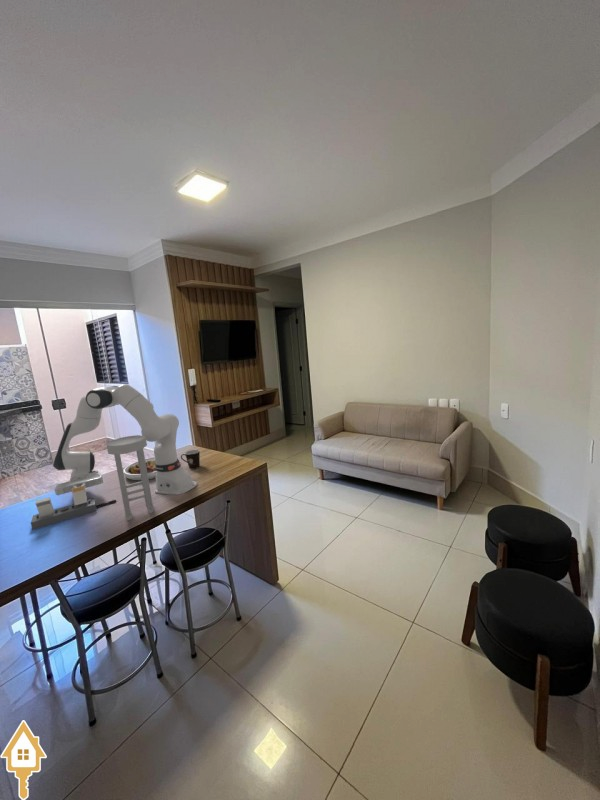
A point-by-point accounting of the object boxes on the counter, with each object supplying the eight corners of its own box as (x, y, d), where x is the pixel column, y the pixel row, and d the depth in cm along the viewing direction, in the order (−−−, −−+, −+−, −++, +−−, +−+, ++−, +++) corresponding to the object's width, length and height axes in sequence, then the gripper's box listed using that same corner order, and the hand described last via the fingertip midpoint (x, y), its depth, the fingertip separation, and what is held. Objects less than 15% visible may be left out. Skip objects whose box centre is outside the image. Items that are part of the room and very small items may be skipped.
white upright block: (87, 501, 153) (84, 485, 154) (87, 501, 151) (84, 485, 152) (75, 505, 150) (72, 488, 151) (74, 505, 148) (71, 488, 149)
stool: (159, 512, 145) (147, 439, 139) (121, 524, 137) (106, 448, 131) (154, 499, 158) (143, 433, 152) (119, 510, 150) (106, 440, 144)
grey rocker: (53, 509, 146) (49, 497, 142) (53, 513, 144) (49, 500, 141) (40, 513, 143) (35, 500, 139) (40, 516, 141) (35, 503, 138)
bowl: (129, 468, 206) (127, 457, 204) (178, 460, 215) (176, 449, 214) (120, 486, 178) (117, 473, 176) (176, 476, 187) (174, 463, 186)
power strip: (115, 498, 162) (113, 490, 162) (116, 504, 156) (115, 496, 155) (34, 522, 145) (32, 512, 144) (32, 530, 138) (30, 520, 137)
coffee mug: (204, 465, 200) (202, 450, 198) (193, 470, 193) (191, 455, 191) (192, 463, 206) (190, 448, 204) (181, 467, 199) (179, 452, 197)
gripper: (54, 481, 160) (51, 490, 148) (101, 469, 171) (102, 477, 159) (57, 492, 161) (54, 502, 149) (103, 480, 172) (104, 488, 160)
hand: (79, 489), depth 154 cm, fingers closed
